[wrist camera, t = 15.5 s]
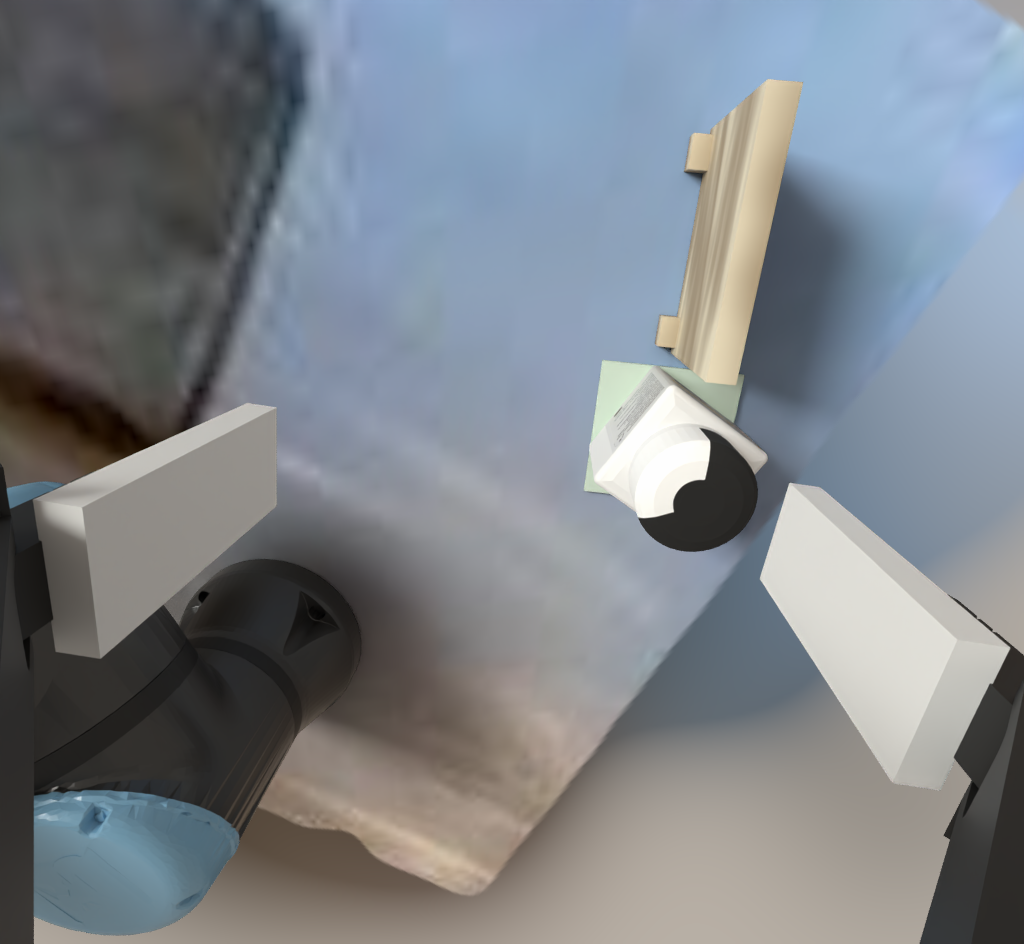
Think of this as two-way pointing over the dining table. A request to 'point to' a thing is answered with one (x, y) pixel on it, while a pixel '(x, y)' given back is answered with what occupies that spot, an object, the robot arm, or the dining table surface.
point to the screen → (730, 230)
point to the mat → (626, 376)
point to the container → (678, 465)
